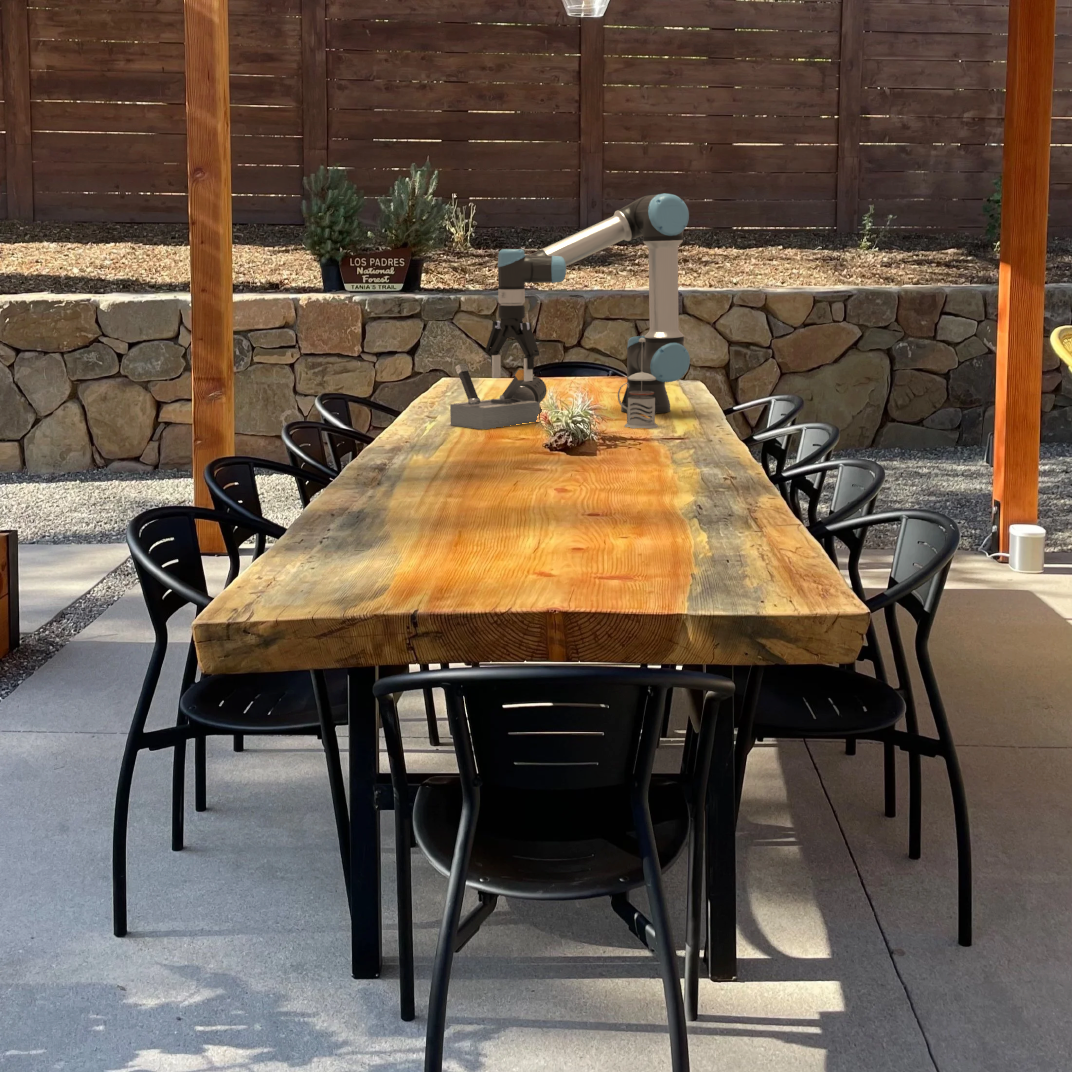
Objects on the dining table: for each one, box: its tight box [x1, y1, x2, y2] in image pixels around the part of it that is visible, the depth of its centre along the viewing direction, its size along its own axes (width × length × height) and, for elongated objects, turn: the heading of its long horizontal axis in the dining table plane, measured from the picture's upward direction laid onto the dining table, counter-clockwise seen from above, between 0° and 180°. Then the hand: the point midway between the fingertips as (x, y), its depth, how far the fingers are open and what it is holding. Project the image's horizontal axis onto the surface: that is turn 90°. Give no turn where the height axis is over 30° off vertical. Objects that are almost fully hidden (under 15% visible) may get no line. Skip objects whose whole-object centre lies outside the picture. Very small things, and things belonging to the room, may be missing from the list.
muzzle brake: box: [511, 375, 548, 403], centre depth 418 cm, size 10×28×10 cm, turn 174°
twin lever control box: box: [449, 363, 541, 430], centre depth 391 cm, size 22×14×18 cm, turn 133°
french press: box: [617, 338, 659, 430], centre depth 384 cm, size 10×12×25 cm
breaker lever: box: [499, 369, 524, 401], centre depth 391 cm, size 3×2×12 cm
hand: (512, 379), depth 391 cm, fingers open, 13 cm apart
